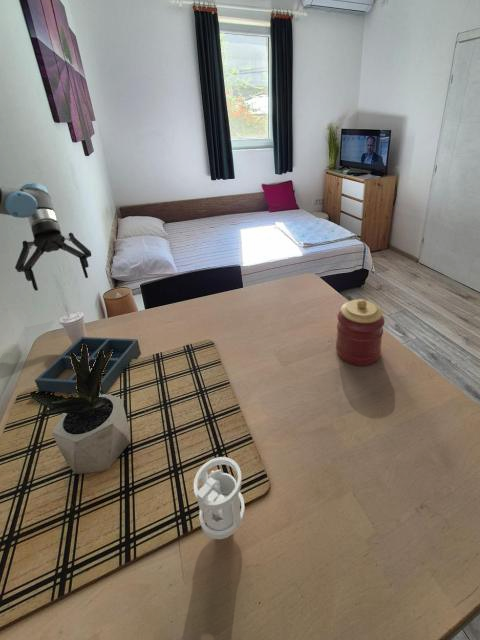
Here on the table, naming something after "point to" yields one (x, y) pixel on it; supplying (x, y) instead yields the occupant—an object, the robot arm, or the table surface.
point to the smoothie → (73, 325)
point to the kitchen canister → (359, 332)
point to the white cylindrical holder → (219, 499)
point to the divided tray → (90, 363)
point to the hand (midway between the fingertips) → (62, 282)
